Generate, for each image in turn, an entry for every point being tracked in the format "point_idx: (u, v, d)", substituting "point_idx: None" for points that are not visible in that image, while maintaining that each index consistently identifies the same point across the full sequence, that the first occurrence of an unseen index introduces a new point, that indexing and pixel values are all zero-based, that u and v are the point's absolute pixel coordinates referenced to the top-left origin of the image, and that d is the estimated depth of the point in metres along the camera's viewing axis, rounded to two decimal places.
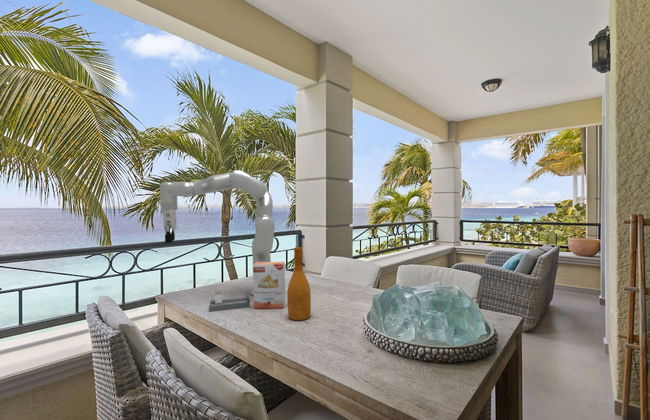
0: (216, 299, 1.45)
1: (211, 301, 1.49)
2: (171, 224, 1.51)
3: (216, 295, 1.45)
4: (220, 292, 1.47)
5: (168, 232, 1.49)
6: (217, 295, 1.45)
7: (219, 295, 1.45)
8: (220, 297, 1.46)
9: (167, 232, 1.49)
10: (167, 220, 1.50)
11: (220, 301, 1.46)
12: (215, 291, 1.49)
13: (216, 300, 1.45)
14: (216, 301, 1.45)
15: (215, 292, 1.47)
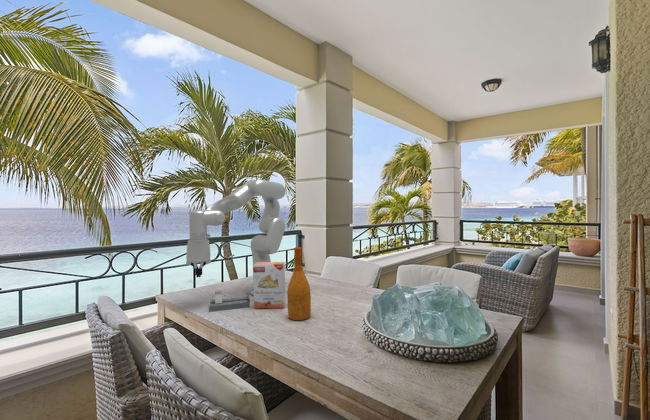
0: (216, 299, 1.45)
1: (211, 301, 1.49)
2: None
3: (216, 295, 1.45)
4: (220, 292, 1.47)
5: (204, 265, 1.46)
6: (217, 295, 1.45)
7: (219, 295, 1.45)
8: (220, 297, 1.46)
9: (204, 265, 1.45)
10: (209, 253, 1.46)
11: (220, 301, 1.46)
12: (215, 291, 1.49)
13: (216, 300, 1.45)
14: (216, 301, 1.45)
15: (215, 292, 1.47)
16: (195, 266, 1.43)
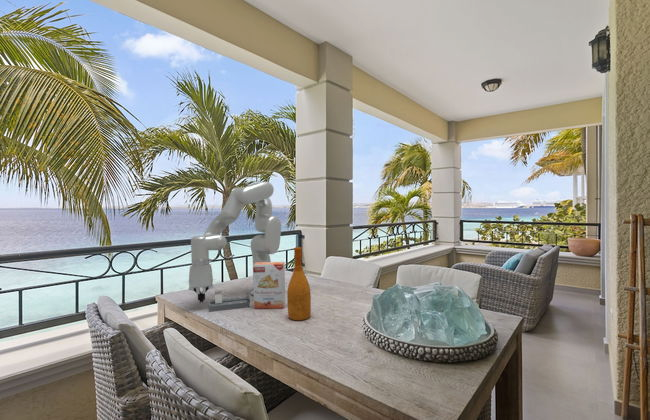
0: (216, 299, 1.45)
1: (211, 301, 1.49)
2: (212, 278, 1.48)
3: (216, 295, 1.45)
4: (220, 292, 1.47)
5: None
6: (217, 295, 1.45)
7: (219, 295, 1.45)
8: (220, 297, 1.46)
9: None
10: (211, 278, 1.46)
11: (220, 301, 1.46)
12: (215, 291, 1.49)
13: (216, 300, 1.45)
14: (216, 301, 1.45)
15: (215, 292, 1.47)
16: (198, 291, 1.44)
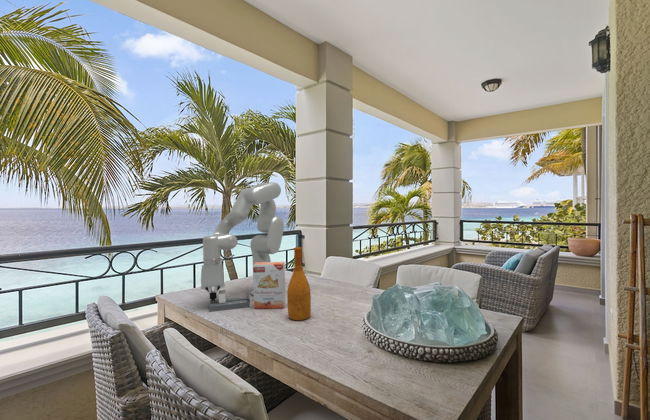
0: (220, 298, 1.46)
1: None
2: None
3: (220, 295, 1.46)
4: (224, 292, 1.48)
5: (218, 289, 1.48)
6: (221, 295, 1.46)
7: (223, 295, 1.46)
8: (224, 297, 1.46)
9: (218, 289, 1.48)
10: None
11: (224, 301, 1.46)
12: (219, 291, 1.50)
13: (220, 300, 1.46)
14: (220, 301, 1.46)
15: (219, 292, 1.48)
16: (210, 290, 1.45)
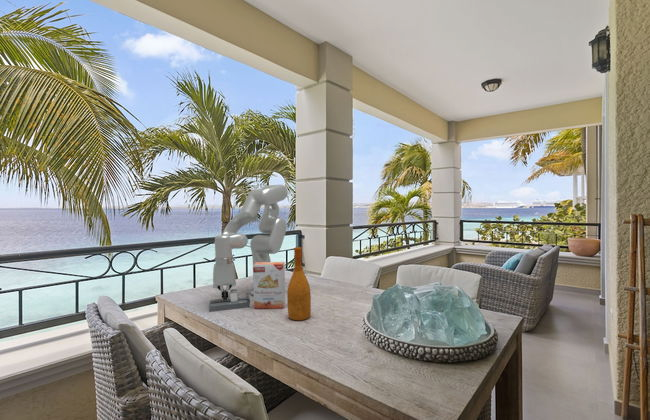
0: (232, 297, 1.47)
1: (211, 301, 1.49)
2: (235, 276, 1.51)
3: (231, 293, 1.47)
4: (235, 290, 1.49)
5: None
6: (232, 293, 1.47)
7: (234, 293, 1.48)
8: (235, 295, 1.48)
9: None
10: None
11: (235, 299, 1.48)
12: (230, 290, 1.51)
13: (231, 298, 1.47)
14: (231, 299, 1.47)
15: (230, 290, 1.49)
16: (221, 289, 1.47)
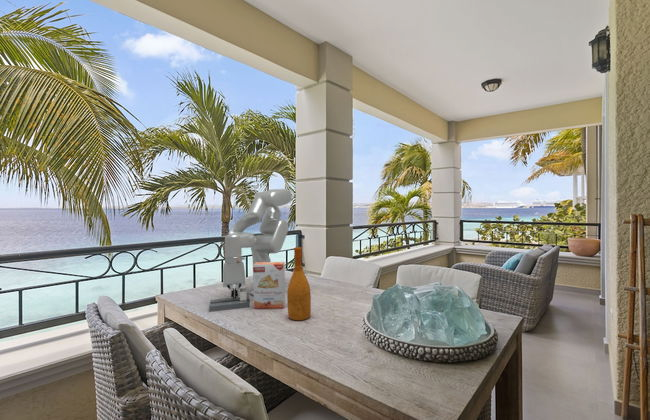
0: (241, 296, 1.48)
1: (211, 301, 1.49)
2: None
3: (241, 292, 1.48)
4: (244, 290, 1.51)
5: None
6: (242, 292, 1.49)
7: (244, 292, 1.49)
8: (245, 294, 1.49)
9: None
10: None
11: (245, 298, 1.49)
12: None
13: (241, 297, 1.48)
14: (241, 298, 1.48)
15: (240, 290, 1.51)
16: (231, 288, 1.48)
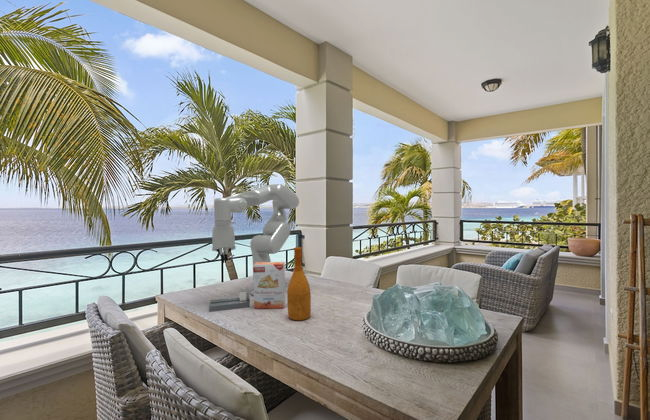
0: (241, 296, 1.48)
1: (211, 301, 1.49)
2: None
3: (241, 293, 1.48)
4: (244, 290, 1.51)
5: (229, 251, 1.49)
6: (242, 293, 1.48)
7: (243, 293, 1.49)
8: (244, 294, 1.49)
9: (229, 251, 1.49)
10: None
11: (244, 298, 1.49)
12: (239, 289, 1.52)
13: (241, 297, 1.48)
14: (241, 298, 1.48)
15: (239, 290, 1.51)
16: (221, 252, 1.47)
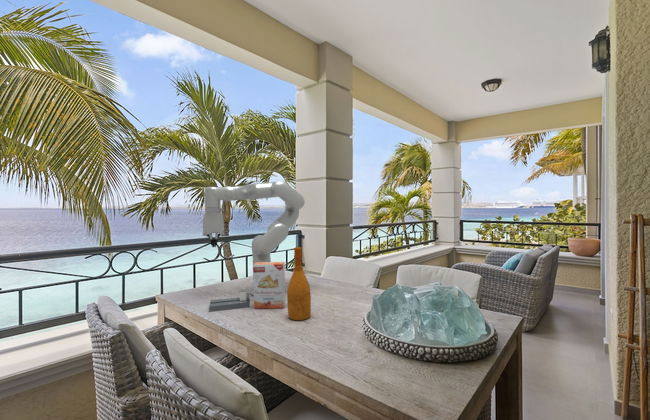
0: (241, 296, 1.48)
1: (211, 301, 1.49)
2: None
3: (241, 293, 1.48)
4: (244, 290, 1.51)
5: None
6: (242, 293, 1.48)
7: (243, 293, 1.49)
8: (244, 294, 1.49)
9: None
10: None
11: (244, 298, 1.49)
12: (239, 289, 1.52)
13: (241, 297, 1.48)
14: (241, 298, 1.48)
15: (239, 290, 1.51)
16: (211, 237, 1.58)
